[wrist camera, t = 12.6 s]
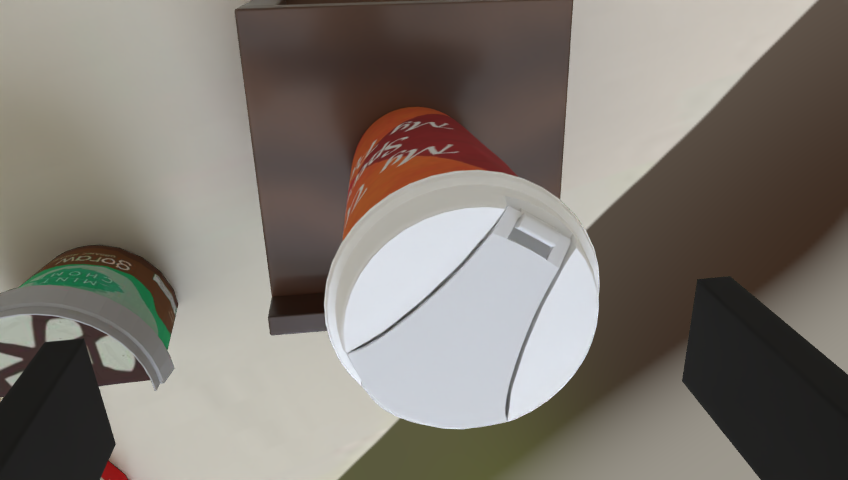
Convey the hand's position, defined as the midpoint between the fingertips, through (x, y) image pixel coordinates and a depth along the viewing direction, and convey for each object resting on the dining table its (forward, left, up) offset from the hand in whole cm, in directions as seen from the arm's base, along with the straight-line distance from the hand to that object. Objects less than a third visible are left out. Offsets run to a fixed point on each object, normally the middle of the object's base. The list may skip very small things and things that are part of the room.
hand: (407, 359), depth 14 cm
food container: (+11, -18, -30) cm, 36 cm away
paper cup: (+1, +2, -17) cm, 17 cm away
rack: (+1, +2, -29) cm, 29 cm away
